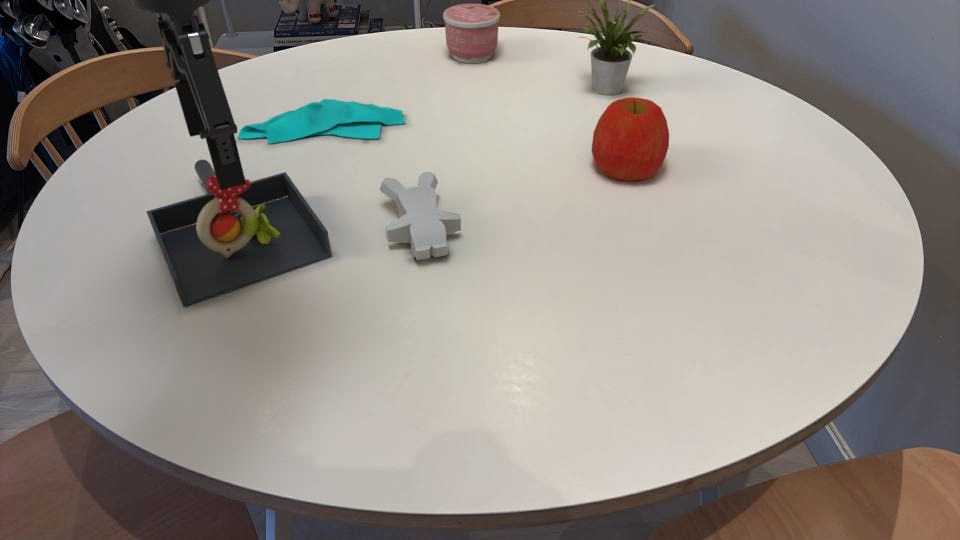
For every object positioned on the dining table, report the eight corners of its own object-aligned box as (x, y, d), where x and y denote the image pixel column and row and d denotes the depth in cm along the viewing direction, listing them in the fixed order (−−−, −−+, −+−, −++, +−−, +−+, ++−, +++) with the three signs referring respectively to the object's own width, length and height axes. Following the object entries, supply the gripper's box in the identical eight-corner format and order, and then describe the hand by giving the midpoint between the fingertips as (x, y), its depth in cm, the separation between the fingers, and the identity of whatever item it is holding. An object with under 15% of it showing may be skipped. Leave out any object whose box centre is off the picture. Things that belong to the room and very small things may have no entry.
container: (504, 63, 131) (505, 21, 126) (449, 68, 129) (447, 25, 124) (493, 42, 139) (493, 1, 134) (440, 46, 137) (439, 5, 132)
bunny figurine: (392, 245, 82) (371, 168, 92) (394, 275, 85) (374, 197, 95) (470, 232, 84) (441, 157, 94) (469, 262, 87) (441, 187, 97)
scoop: (332, 256, 87) (327, 230, 84) (183, 307, 80) (173, 280, 77) (266, 160, 104) (260, 136, 102) (139, 195, 97) (130, 170, 95)
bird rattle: (245, 280, 86) (296, 227, 88) (189, 229, 77) (248, 171, 79) (218, 259, 89) (268, 208, 91) (162, 207, 80) (218, 152, 82)
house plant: (545, 94, 121) (552, -1, 110) (577, 65, 130) (585, -26, 120) (624, 113, 116) (638, 14, 105) (651, 81, 125) (666, -12, 114)
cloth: (406, 100, 119) (405, 88, 118) (404, 140, 109) (403, 127, 107) (252, 104, 118) (249, 92, 117) (235, 145, 108) (231, 132, 106)
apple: (643, 144, 108) (653, 79, 101) (677, 180, 100) (692, 113, 93) (578, 154, 105) (585, 89, 99) (608, 193, 97) (618, 124, 91)
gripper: (239, -9, 59) (283, 200, 73) (175, -73, 76) (220, 107, 89) (147, 6, 56) (210, 221, 70) (100, -64, 73) (159, 121, 86)
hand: (216, 157), depth 79 cm, fingers open, 13 cm apart
